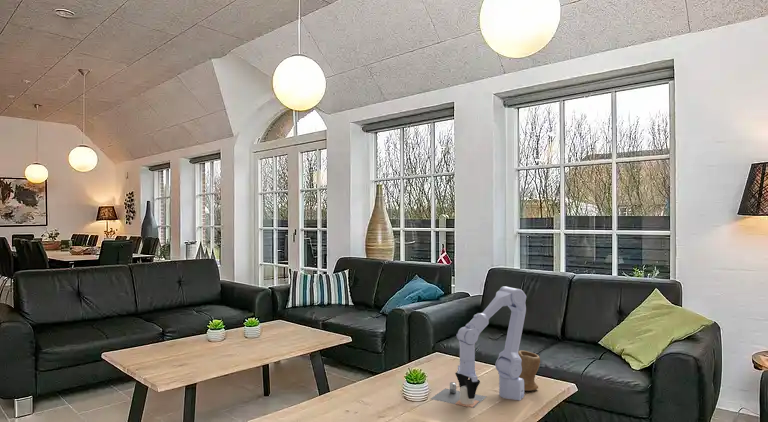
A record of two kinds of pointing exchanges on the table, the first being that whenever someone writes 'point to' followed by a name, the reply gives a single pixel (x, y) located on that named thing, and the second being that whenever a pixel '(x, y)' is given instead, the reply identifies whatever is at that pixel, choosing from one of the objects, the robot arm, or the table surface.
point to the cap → (465, 396)
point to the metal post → (452, 388)
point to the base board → (454, 397)
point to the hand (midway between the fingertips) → (467, 394)
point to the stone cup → (529, 369)
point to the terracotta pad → (467, 405)
